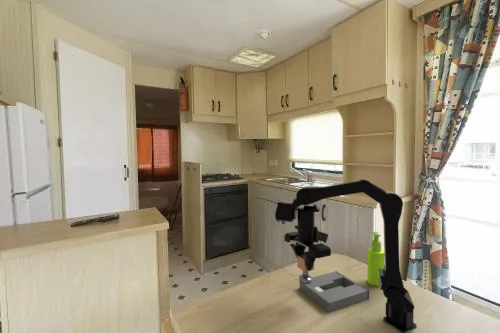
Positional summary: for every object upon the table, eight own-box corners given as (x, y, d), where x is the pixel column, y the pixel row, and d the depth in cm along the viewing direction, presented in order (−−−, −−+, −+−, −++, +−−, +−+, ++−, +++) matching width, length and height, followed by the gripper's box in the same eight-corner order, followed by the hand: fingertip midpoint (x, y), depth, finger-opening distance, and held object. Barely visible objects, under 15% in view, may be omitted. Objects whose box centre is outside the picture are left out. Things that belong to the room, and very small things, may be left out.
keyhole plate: (336, 278, 101) (336, 271, 101) (369, 298, 86) (369, 290, 86) (299, 288, 93) (299, 280, 93) (329, 312, 79) (329, 303, 78)
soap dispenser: (379, 278, 101) (379, 230, 100) (386, 287, 94) (387, 236, 93) (364, 277, 101) (365, 230, 101) (370, 286, 95) (371, 235, 94)
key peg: (314, 282, 83) (314, 257, 83) (304, 285, 81) (304, 260, 81) (306, 276, 87) (306, 253, 87) (296, 279, 85) (296, 255, 85)
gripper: (344, 227, 78) (343, 274, 79) (307, 215, 95) (307, 254, 96) (316, 231, 74) (316, 282, 74) (283, 218, 91) (283, 259, 91)
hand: (305, 267), depth 84 cm, fingers closed on key peg, 4 cm apart
